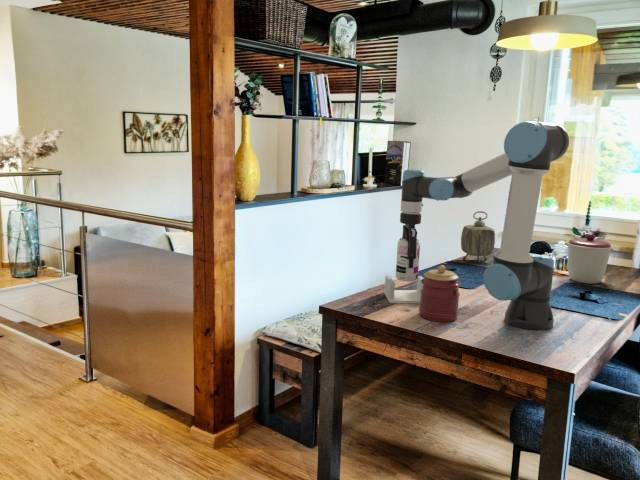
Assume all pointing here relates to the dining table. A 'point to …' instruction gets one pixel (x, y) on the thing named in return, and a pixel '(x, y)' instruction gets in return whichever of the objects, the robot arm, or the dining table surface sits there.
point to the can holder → (402, 292)
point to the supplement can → (401, 260)
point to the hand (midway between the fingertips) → (407, 273)
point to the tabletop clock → (478, 239)
